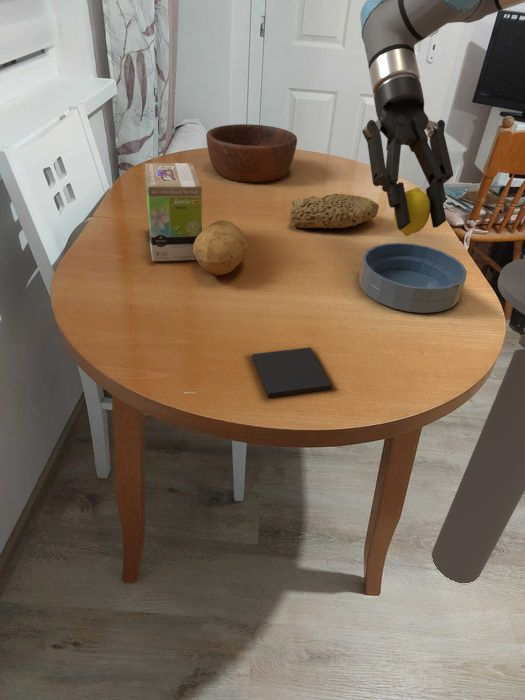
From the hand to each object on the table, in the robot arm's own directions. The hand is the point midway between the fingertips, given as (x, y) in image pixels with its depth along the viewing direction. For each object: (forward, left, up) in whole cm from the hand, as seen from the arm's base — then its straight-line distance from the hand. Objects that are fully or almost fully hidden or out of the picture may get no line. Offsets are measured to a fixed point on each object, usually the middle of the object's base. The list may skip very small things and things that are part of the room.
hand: (421, 224), depth 81 cm
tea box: (+35, -32, -16) cm, 50 cm away
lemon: (0, -4, -4) cm, 5 cm away
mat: (+24, +13, -15) cm, 32 cm away
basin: (-5, -7, -15) cm, 17 cm away
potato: (+28, -20, -16) cm, 38 cm away
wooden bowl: (+8, -78, -16) cm, 80 cm away
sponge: (-2, -38, -16) cm, 41 cm away
